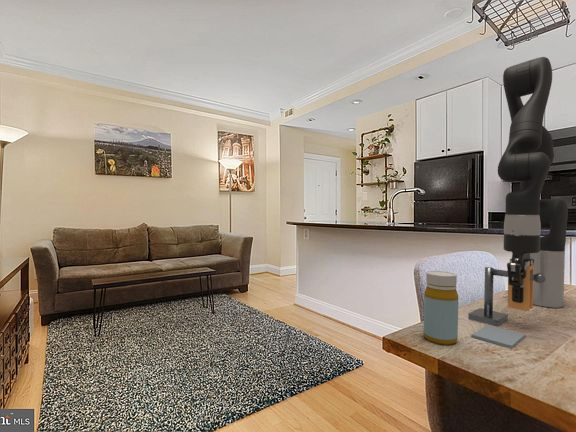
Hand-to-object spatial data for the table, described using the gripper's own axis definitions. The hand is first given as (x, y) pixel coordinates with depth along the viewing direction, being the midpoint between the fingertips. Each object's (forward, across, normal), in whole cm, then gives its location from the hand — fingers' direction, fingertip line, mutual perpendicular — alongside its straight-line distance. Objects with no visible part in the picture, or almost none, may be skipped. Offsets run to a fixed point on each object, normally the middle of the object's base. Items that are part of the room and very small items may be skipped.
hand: (520, 300), depth 82 cm
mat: (+7, +12, -1) cm, 14 cm away
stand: (+7, 0, -3) cm, 7 cm away
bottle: (+7, +24, -9) cm, 27 cm away
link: (+2, 0, 0) cm, 2 cm away
